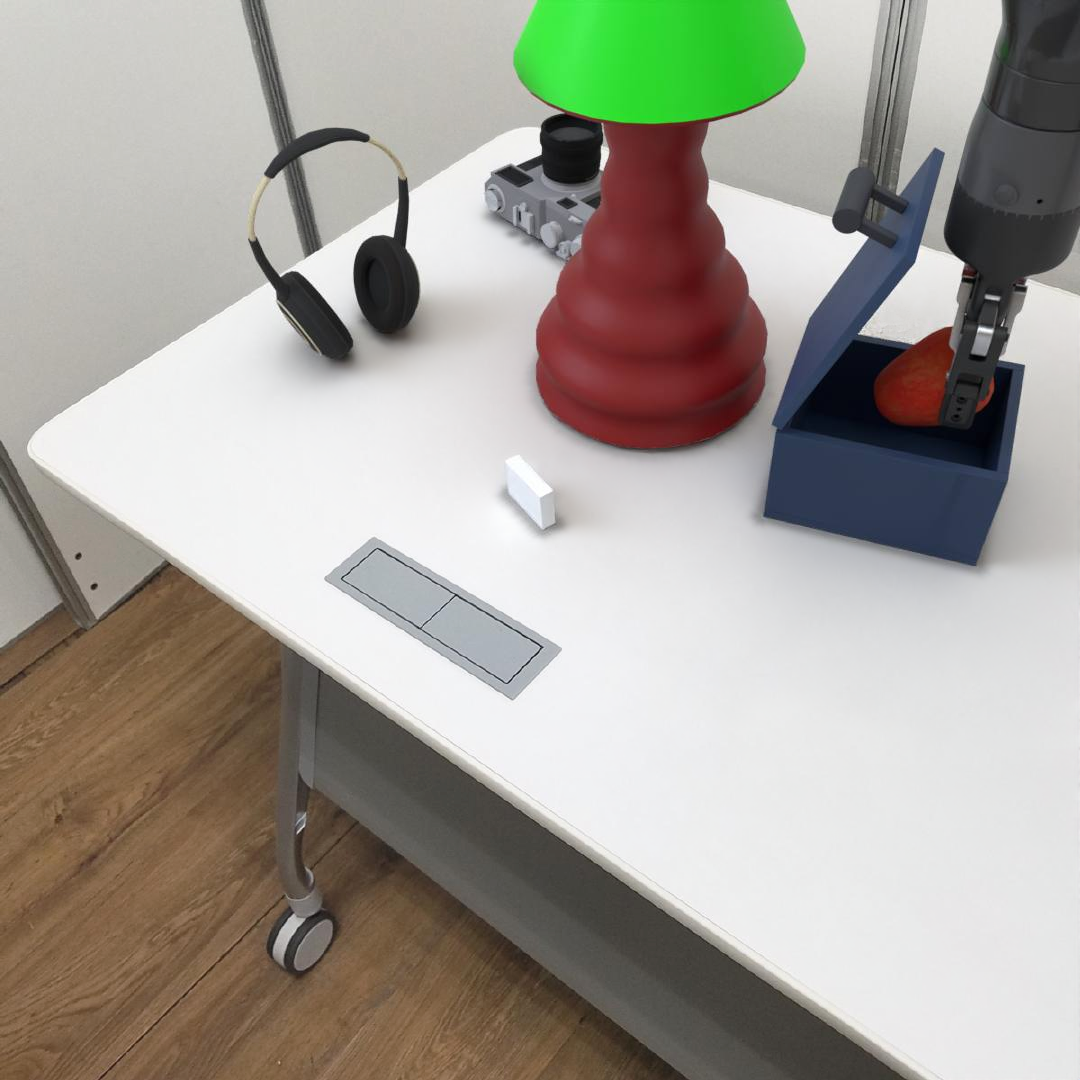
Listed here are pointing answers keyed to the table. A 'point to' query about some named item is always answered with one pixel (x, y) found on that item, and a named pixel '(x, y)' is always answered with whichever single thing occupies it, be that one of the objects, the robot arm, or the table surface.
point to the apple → (918, 382)
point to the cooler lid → (861, 273)
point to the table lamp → (654, 213)
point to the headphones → (378, 266)
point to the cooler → (893, 462)
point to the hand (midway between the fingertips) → (960, 391)
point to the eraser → (530, 491)
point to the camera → (553, 184)
